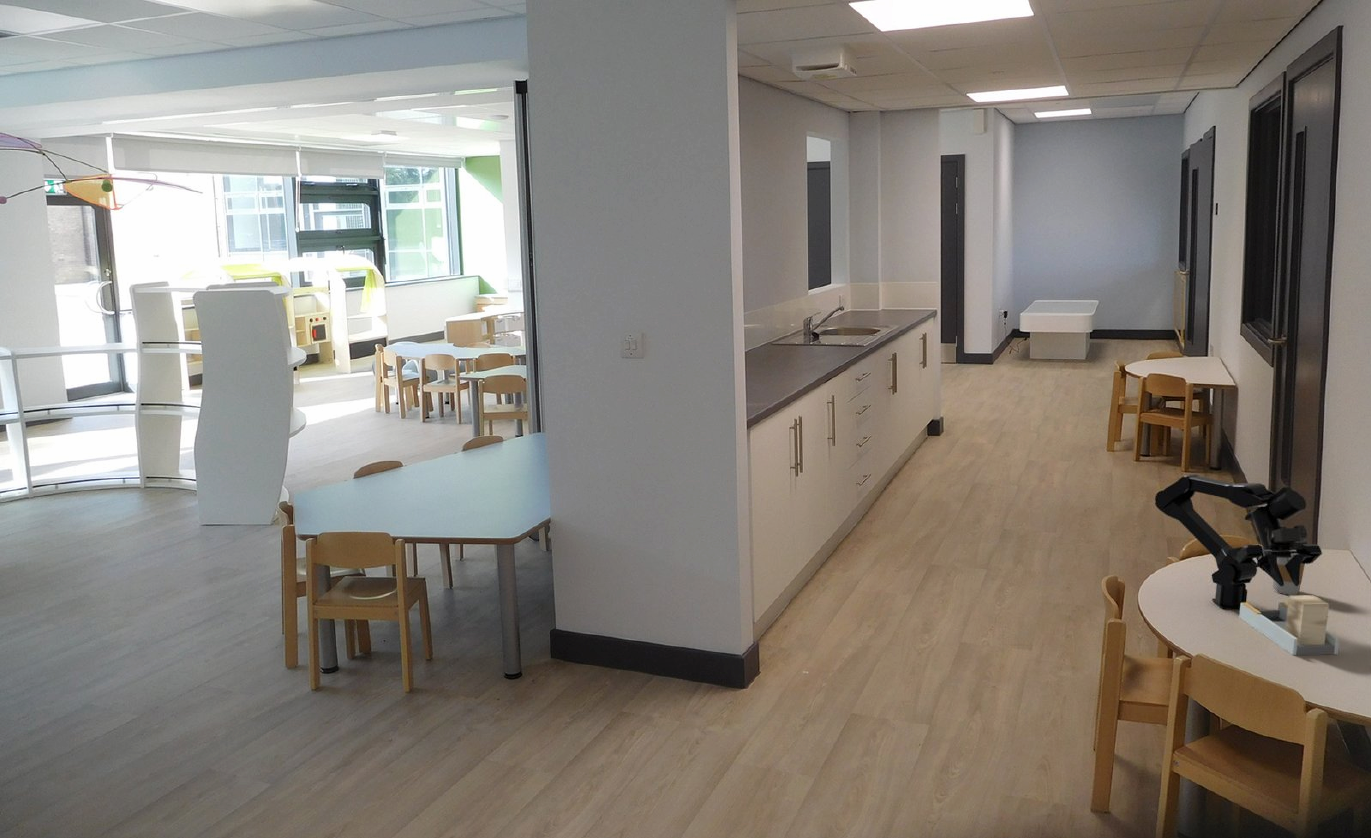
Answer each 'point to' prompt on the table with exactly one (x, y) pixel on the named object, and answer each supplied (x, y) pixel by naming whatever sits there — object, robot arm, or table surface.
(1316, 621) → the beech block
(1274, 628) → the channel
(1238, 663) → the table surface
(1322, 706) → the table surface
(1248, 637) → the table surface
